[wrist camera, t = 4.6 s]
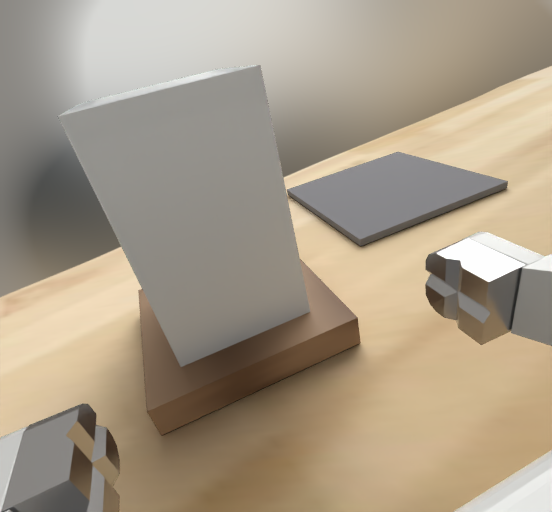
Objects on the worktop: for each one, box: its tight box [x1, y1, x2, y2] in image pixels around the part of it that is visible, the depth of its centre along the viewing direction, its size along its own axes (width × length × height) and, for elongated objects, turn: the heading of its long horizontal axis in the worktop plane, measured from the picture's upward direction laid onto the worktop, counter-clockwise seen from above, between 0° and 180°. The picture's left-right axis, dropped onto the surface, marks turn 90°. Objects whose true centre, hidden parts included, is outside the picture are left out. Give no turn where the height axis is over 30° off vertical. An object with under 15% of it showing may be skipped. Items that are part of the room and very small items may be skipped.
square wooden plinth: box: [138, 259, 360, 435], centre depth 17 cm, size 9×9×6 cm
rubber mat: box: [287, 152, 508, 246], centre depth 29 cm, size 12×12×1 cm
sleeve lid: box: [58, 65, 310, 367], centre depth 15 cm, size 6×6×10 cm
